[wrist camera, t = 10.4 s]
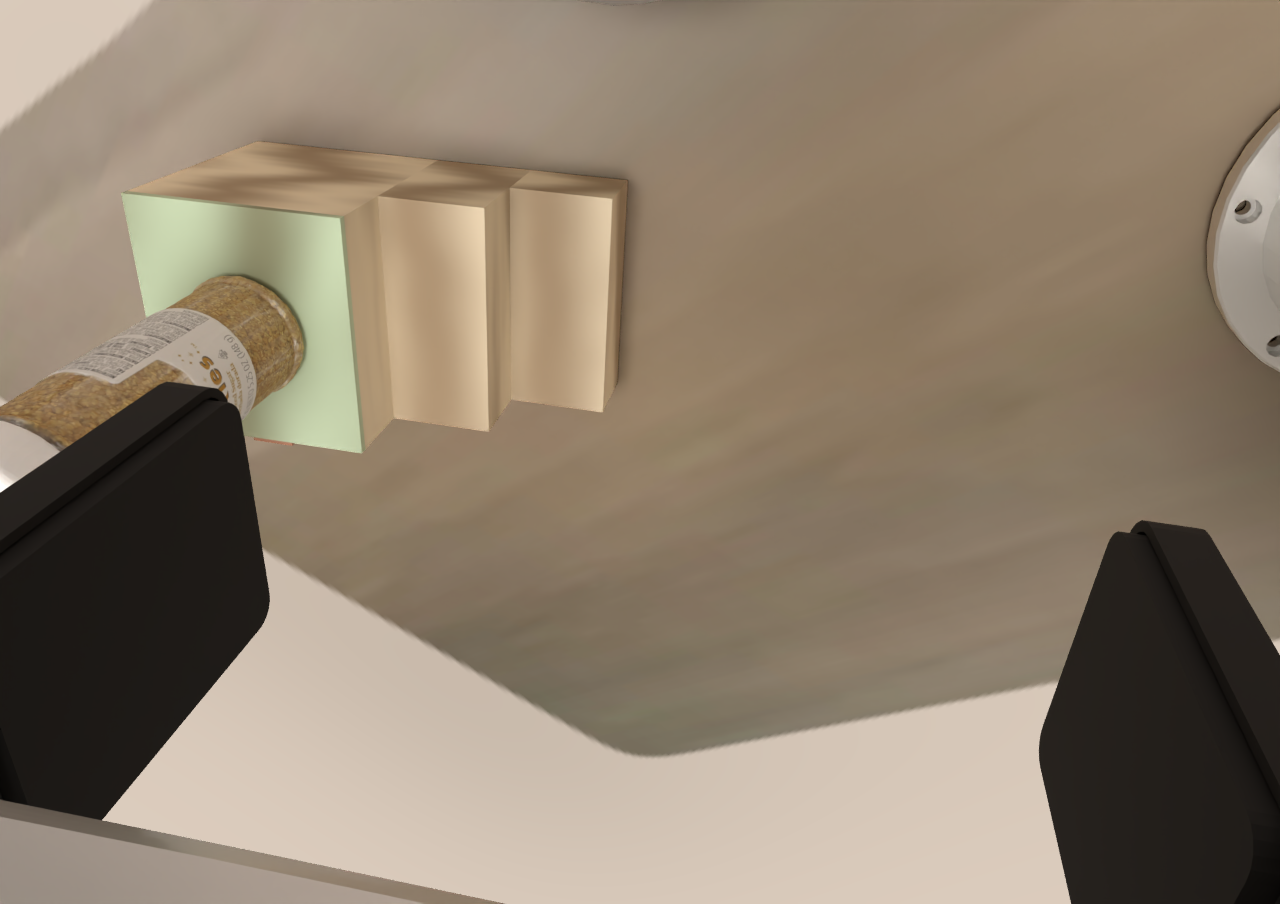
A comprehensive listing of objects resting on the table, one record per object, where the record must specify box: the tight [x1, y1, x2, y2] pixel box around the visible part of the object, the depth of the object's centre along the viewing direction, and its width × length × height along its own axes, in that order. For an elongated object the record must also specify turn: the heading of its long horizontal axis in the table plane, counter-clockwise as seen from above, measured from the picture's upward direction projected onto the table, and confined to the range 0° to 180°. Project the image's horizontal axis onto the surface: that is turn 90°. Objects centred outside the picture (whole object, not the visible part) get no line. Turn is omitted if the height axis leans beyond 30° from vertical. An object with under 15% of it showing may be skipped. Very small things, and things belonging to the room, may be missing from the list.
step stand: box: [121, 141, 628, 453], centre depth 39 cm, size 16×10×9 cm, turn 86°
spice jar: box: [0, 276, 304, 492], centre depth 29 cm, size 5×5×14 cm
